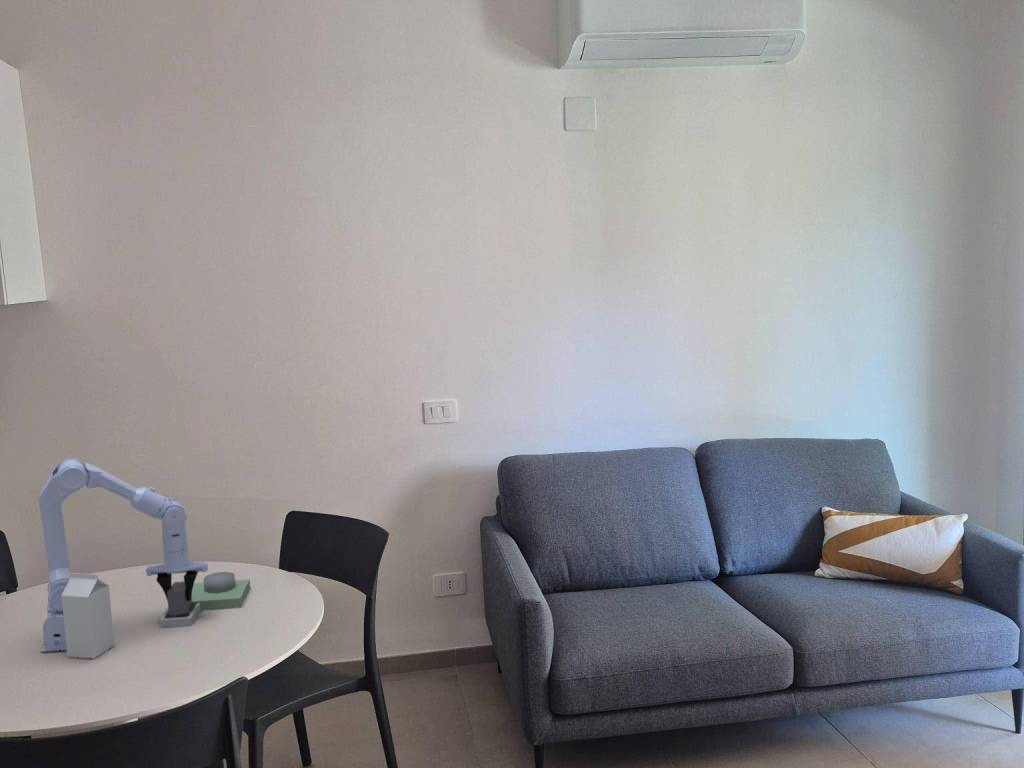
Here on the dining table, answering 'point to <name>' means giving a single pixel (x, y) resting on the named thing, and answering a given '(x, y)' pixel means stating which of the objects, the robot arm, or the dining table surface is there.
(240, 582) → the green panel
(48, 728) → the dining table surface
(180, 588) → the dark gray block
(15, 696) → the dining table surface
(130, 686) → the dining table surface
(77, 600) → the milk carton
